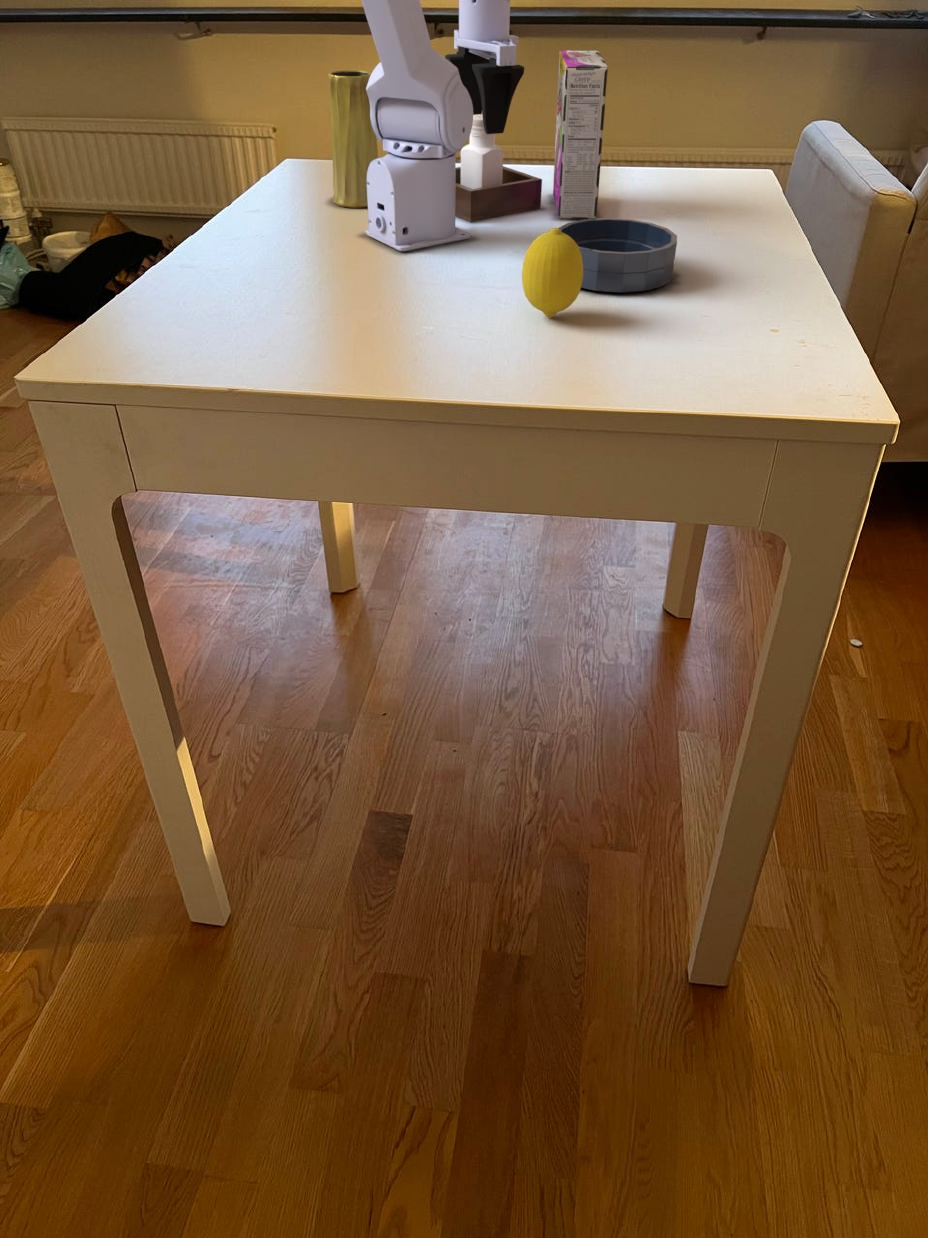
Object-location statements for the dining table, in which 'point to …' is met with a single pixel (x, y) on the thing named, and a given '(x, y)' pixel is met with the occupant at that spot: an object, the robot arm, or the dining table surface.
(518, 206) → the box
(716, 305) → the dining table surface
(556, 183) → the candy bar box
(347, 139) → the vase
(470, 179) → the white bottle
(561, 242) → the lemon
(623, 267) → the bowl
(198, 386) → the dining table surface
